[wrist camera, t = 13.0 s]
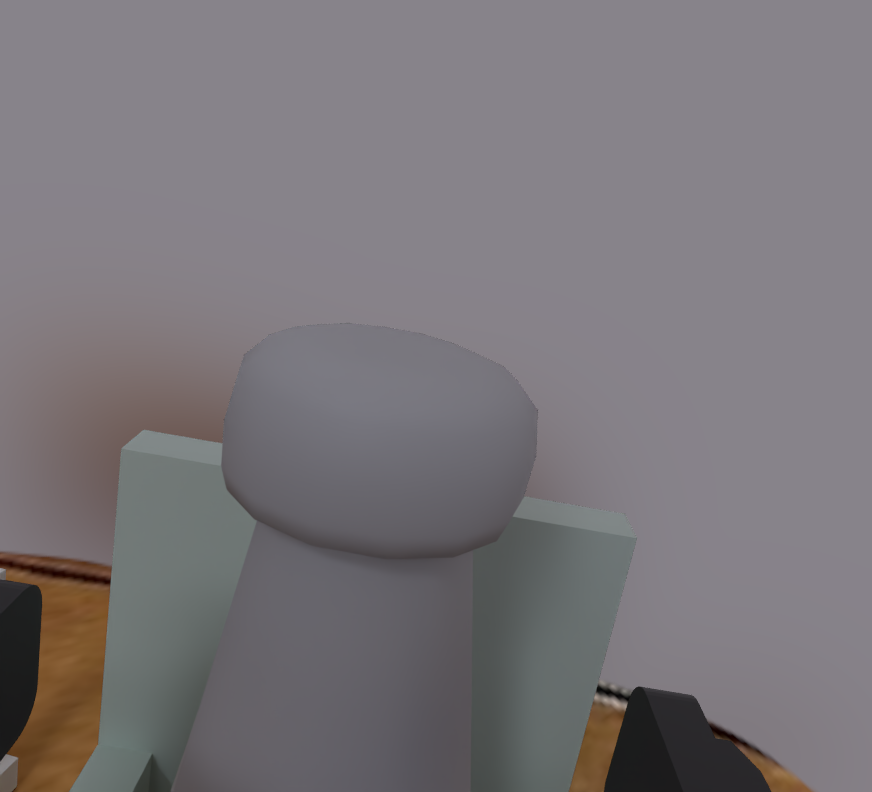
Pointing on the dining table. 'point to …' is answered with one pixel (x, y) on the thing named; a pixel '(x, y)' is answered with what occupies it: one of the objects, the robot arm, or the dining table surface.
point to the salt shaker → (357, 561)
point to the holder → (217, 580)
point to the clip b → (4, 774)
